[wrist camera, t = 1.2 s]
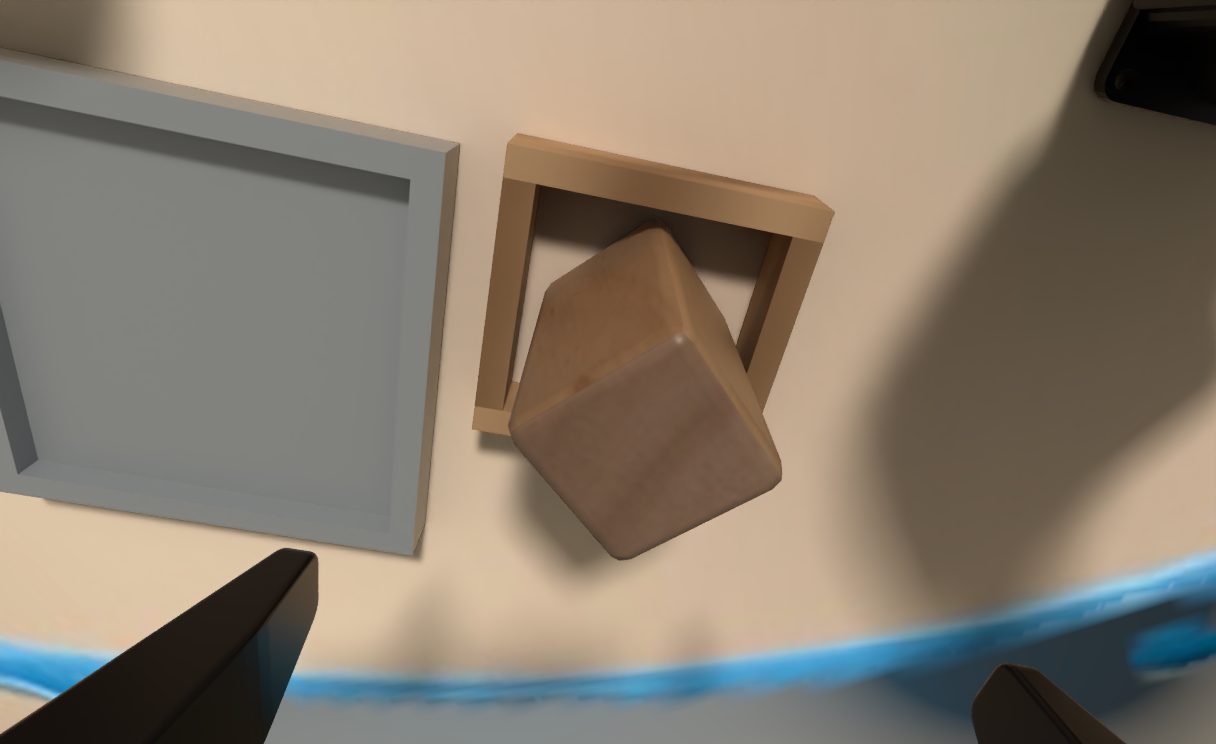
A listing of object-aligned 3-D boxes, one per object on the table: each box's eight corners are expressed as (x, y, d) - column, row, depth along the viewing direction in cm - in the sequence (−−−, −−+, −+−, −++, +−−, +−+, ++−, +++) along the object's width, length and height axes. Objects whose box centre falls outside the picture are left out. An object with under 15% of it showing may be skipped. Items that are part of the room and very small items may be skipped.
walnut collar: (814, 196, 18) (834, 211, 16) (730, 443, 21) (739, 475, 20) (517, 133, 17) (507, 142, 15) (483, 398, 20) (471, 429, 19)
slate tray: (460, 143, 17) (445, 152, 16) (424, 523, 23) (412, 556, 21) (-68, 33, 16) (-135, 32, 15) (36, 461, 22) (-4, 490, 20)
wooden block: (540, 286, 19) (495, 435, 12) (658, 210, 18) (687, 322, 11) (616, 387, 20) (616, 575, 13) (728, 322, 19) (795, 488, 12)
